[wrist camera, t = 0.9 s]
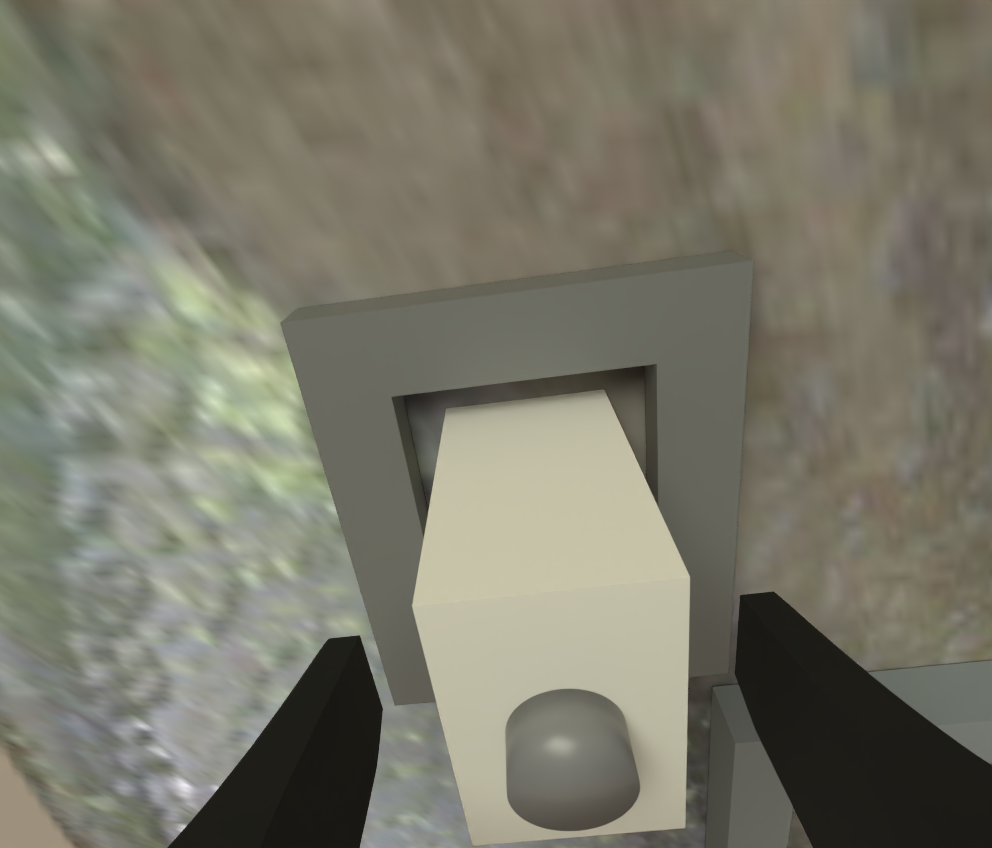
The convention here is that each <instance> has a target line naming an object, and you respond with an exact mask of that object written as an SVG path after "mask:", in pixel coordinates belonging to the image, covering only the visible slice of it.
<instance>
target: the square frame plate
mask: <svg viewBox="0 0 992 848" xmlns="http://www.w3.org/2000/svg"><path fill="white" fill-rule="evenodd" d="M753 265H754V261H753V260H751V259H749V258H747V257H744V256H742V255H740V254H738V253H736V252H733V251H728V252H720V253H713V254H705V255H698V256H690V257H683V258H675V259H668V260H660V261H653V262H645V263H637V264H630V265H622V266H615V267H607V268H600V269H592V270H585V271H577V272H570V273H562V274H554V275H547V276H539V277H532V278H524V279H517V280H509V281H502V282H494V283H487V284H479V285H471V286H464V287H456V288H449V289H441V290H434V291H426V292H419V293H411V294H404V295H396V296H389V297H381V298H373V299H366V300H358V301H351V302H343V303H336V304H328V305H321V306H313V307H306V308H298V309H296V310H295V311H294V312H293V313H292V314H290V315H289V316H288V317H287V318H286V319H284V320H283V321H282V322H281V327H282V330H283V333H284V337H285V340H286V343H287V347H288V350H289V353H290V357H291V360H292V363H293V367H294V370H295V373H296V377H297V380H298V383H299V387H300V390H301V394H302V397H303V400H304V404H305V407H306V410H307V414H308V417H309V420H310V424H311V427H312V430H313V434H314V437H315V440H316V444H317V447H318V450H319V454H320V457H321V460H322V464H323V467H324V470H325V474H326V477H327V480H328V484H329V487H330V490H331V494H332V497H333V500H334V504H335V507H336V510H337V514H338V517H339V520H340V524H341V527H342V530H343V534H344V537H345V540H346V544H347V547H348V550H349V554H350V557H351V560H352V564H353V567H354V570H355V574H356V577H357V580H358V584H359V587H360V591H361V594H362V597H363V601H364V604H365V607H366V611H367V614H368V617H369V621H370V624H371V627H372V631H373V634H374V637H375V641H376V644H377V647H378V651H379V654H380V657H381V661H382V664H383V667H384V671H385V674H386V677H387V681H388V684H389V687H390V691H391V694H392V697H393V701H394V704H395V705H406V704H416V703H427V702H436V699H435V695H434V691H433V687H432V683H431V679H430V675H429V671H428V667H427V663H426V660H425V656H424V652H423V648H422V644H421V640H420V636H419V632H418V628H417V624H416V620H415V616H414V612H413V608H412V604H413V598H414V592H415V586H416V580H417V575H418V569H419V563H420V557H421V551H422V546H423V540H424V534H425V528H426V522H427V517H428V509H427V504H426V499H425V495H424V490H423V486H422V481H421V476H420V472H419V467H418V463H417V458H416V453H415V449H414V444H413V440H412V435H411V430H410V426H409V421H408V417H407V412H406V407H405V403H404V398H403V395H410V394H418V393H426V392H434V391H442V390H450V389H459V388H467V387H475V386H483V385H491V384H499V383H507V382H515V381H523V380H531V379H540V378H548V377H556V376H564V375H572V374H580V373H588V372H596V371H604V370H612V369H621V368H629V367H637V366H644V367H645V416H646V465H647V484H648V486H649V488H650V491H651V493H652V495H653V497H654V499H655V501H656V504H657V506H658V508H659V510H660V512H661V515H662V517H663V519H664V521H665V523H666V525H667V528H668V530H669V532H670V534H671V536H672V539H673V541H674V543H675V545H676V547H677V549H678V552H679V554H680V556H681V558H682V560H683V563H684V565H685V567H686V569H687V571H688V573H689V576H690V610H689V662H688V678H689V677H699V676H710V675H720V674H728V672H729V656H730V640H731V624H732V607H733V591H734V575H735V558H736V542H737V526H738V509H739V493H740V477H741V461H742V444H743V428H744V412H745V395H746V379H747V363H748V347H749V330H750V314H751V298H752V281H753Z"/></svg>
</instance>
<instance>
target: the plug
mask: <svg viewBox="0 0 992 848" xmlns="http://www.w3.org/2000/svg"><path fill="white" fill-rule="evenodd" d="M412 608H413V612H414V616H415V620H416V624H417V628H418V632H419V636H420V640H421V644H422V648H423V652H424V656H425V660H426V663H427V667H428V671H429V675H430V679H431V683H432V687H433V691H434V695H435V699H436V703H437V707H438V711H439V715H440V719H441V723H442V727H443V730H444V734H445V738H446V742H447V746H448V750H449V754H450V758H451V762H452V766H453V770H454V774H455V778H456V782H457V786H458V790H459V794H460V798H461V801H462V805H463V809H464V813H465V817H466V821H467V825H468V829H469V833H470V837H471V841H472V845H473V846H477V845H489V844H500V843H512V842H524V841H536V840H548V839H560V838H572V837H584V836H596V835H608V834H620V833H632V832H644V831H656V830H668V829H680V828H685V818H686V766H687V714H688V662H689V610H690V576H689V573H688V571H687V569H686V567H685V565H684V563H683V560H682V558H681V556H680V554H679V552H678V549H677V547H676V545H675V543H674V541H673V539H672V536H671V534H670V532H669V530H668V528H667V525H666V523H665V521H664V519H663V517H662V515H661V512H660V510H659V508H658V506H657V504H656V501H655V499H654V497H653V495H652V493H651V491H650V488H649V486H648V484H647V482H646V480H645V477H644V475H643V473H642V471H641V469H640V467H639V464H638V462H637V460H636V458H635V456H634V453H633V451H632V449H631V447H630V445H629V443H628V440H627V438H626V436H625V434H624V432H623V429H622V427H621V425H620V423H619V421H618V419H617V416H616V414H615V412H614V410H613V408H612V405H611V403H610V401H609V399H608V397H607V395H606V392H605V390H595V391H587V392H579V393H571V394H562V395H554V396H546V397H538V398H530V399H521V400H513V401H505V402H497V403H489V404H480V405H472V406H464V407H456V408H447V409H446V412H445V418H444V424H443V429H442V435H441V441H440V447H439V453H438V459H437V464H436V470H435V476H434V482H433V488H432V493H431V499H430V505H429V511H428V517H427V522H426V528H425V534H424V540H423V546H422V551H421V557H420V563H419V569H418V575H417V580H416V586H415V592H414V598H413V604H412Z"/></svg>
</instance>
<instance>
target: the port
mask: <svg viewBox="0 0 992 848" xmlns="http://www.w3.org/2000/svg"><path fill="white" fill-rule="evenodd" d="M868 673H869V674H870V675H872V676H873V677H874V678H875V679H877V680H878V681H879V682H880V683H881V684H883V685H884V686H885V687H886V688H888V689H889V690H890V691H891V692H893V693H894V694H895V695H896V696H898V697H899V698H900V699H901V700H903V701H904V702H905V703H907V704H908V705H909V706H910V707H912V708H913V709H914V710H916V711H917V712H918V713H920V714H921V715H922V716H924V717H925V718H926V719H928V720H929V721H930V722H932V723H933V724H934V725H936V726H937V727H938V728H940V729H941V730H942V731H943V732H945V733H946V734H948V735H949V736H950V737H952V738H953V739H954V740H956V741H957V742H959V743H960V744H961V745H963V746H964V747H966V748H967V749H969V750H970V751H971V752H973V753H974V754H976V755H977V756H979V757H980V758H982V759H983V760H985V761H986V762H988V763H989V764H991V765H992V660H990V661H980V662H969V663H958V664H948V665H937V666H927V667H916V668H906V669H895V670H884V671H874V672H868ZM792 813H793V806H792V804H791V802H790V800H789V798H788V796H787V794H786V792H785V790H784V788H783V786H782V783H781V781H780V779H779V777H778V775H777V773H776V771H775V769H774V767H773V765H772V763H771V761H770V759H769V757H768V755H767V753H766V751H765V749H764V747H763V745H762V743H761V741H760V738H759V736H758V734H757V732H756V730H755V728H754V725H753V722H752V720H751V717H750V714H749V712H748V709H747V706H746V704H745V701H744V698H743V695H742V692H741V689H740V687H739V684H736V685H725V686H715V687H712V707H711V729H710V751H709V773H708V795H707V817H706V839H705V848H787V846H788V840H789V833H790V826H791V820H792Z"/></svg>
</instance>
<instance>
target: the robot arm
mask: <svg viewBox="0 0 992 848" xmlns="http://www.w3.org/2000/svg"><path fill="white" fill-rule="evenodd" d="M735 675H736V678H737V681H738V684H739V687H740V689H741V692H742V695H743V698H744V701H745V704H746V706H747V709H748V712H749V714H750V717H751V720H752V722H753V725H754V728H755V730H756V732H757V734H758V736H759V738H760V741H761V743H762V745H763V747H764V749H765V751H766V753H767V755H768V757H769V759H770V761H771V763H772V765H773V767H774V769H775V771H776V773H777V775H778V777H779V779H780V781H781V783H782V786H783V788H784V790H785V792H786V794H787V796H788V798H789V800H790V802H791V804H792V806H793V808H794V810H795V812H796V814H797V816H798V818H799V820H800V822H801V824H802V826H803V828H804V830H805V832H806V834H807V836H808V838H809V840H810V842H811V844H812V846H813V848H992V765H991V764H989V763H988V762H986V761H985V760H983V759H982V758H980V757H979V756H977V755H976V754H974V753H973V752H971V751H970V750H969V749H967V748H966V747H964V746H963V745H961V744H960V743H959V742H957V741H956V740H954V739H953V738H952V737H950V736H949V735H948V734H946V733H945V732H943V731H942V730H941V729H940V728H938V727H937V726H936V725H934V724H933V723H932V722H930V721H929V720H928V719H926V718H925V717H924V716H922V715H921V714H920V713H918V712H917V711H916V710H914V709H913V708H912V707H910V706H909V705H908V704H907V703H905V702H904V701H903V700H901V699H900V698H899V697H898V696H896V695H895V694H894V693H893V692H891V691H890V690H889V689H888V688H886V687H885V686H884V685H883V684H881V683H880V682H879V681H878V680H877V679H875V678H874V677H873V676H872V675H870V674H869V673H868V672H867V671H866V670H864V669H863V668H862V667H861V666H859V665H858V664H857V663H856V662H855V661H853V660H852V659H851V658H850V657H849V656H847V655H846V654H845V653H844V652H843V651H841V650H840V649H839V648H838V647H837V646H836V645H835V644H833V643H832V642H831V641H830V640H829V639H828V638H826V637H825V636H824V635H823V634H822V633H821V632H819V631H818V630H817V629H816V628H815V627H814V626H813V625H811V624H810V623H809V622H808V621H807V620H806V619H805V618H804V617H802V616H801V615H800V614H799V613H798V612H797V611H796V610H794V609H793V608H792V607H791V606H790V605H789V604H788V603H786V602H785V601H784V600H783V599H782V598H781V597H780V596H778V595H777V594H776V593H775V592H766V593H756V594H747V595H740V606H739V621H738V636H737V651H736V665H735ZM382 711H383V708H382V705H381V702H380V698H379V695H378V692H377V689H376V686H375V682H374V679H373V676H372V673H371V670H370V667H369V663H368V660H367V657H366V654H365V651H364V647H363V644H362V641H361V638H360V635H359V636H350V637H340V638H331V639H328V640H327V641H326V643H325V644H324V645H323V647H322V648H321V650H320V651H319V652H318V654H317V655H316V657H315V658H314V660H313V661H312V663H311V664H310V665H309V667H308V668H307V670H306V671H305V673H304V674H303V676H302V677H301V679H300V680H299V681H298V683H297V684H296V686H295V687H294V689H293V690H292V691H291V693H290V694H289V696H288V697H287V699H286V700H285V701H284V703H283V704H282V706H281V707H280V708H279V710H278V711H277V713H276V714H275V715H274V717H273V718H272V719H271V721H270V722H269V723H268V725H267V726H266V728H265V729H264V730H263V732H262V733H261V734H260V736H259V737H258V738H257V740H256V741H255V743H254V744H253V745H252V747H251V748H250V749H249V750H248V752H247V753H246V754H245V756H244V757H243V758H242V759H241V761H240V762H239V763H238V764H237V766H236V767H235V768H234V769H233V771H232V772H231V773H230V775H229V776H228V777H227V778H226V780H225V781H224V782H223V783H222V785H221V786H220V787H219V788H218V790H217V791H216V792H215V793H214V795H213V796H212V797H211V798H210V799H209V801H208V802H207V803H206V804H205V805H204V807H203V808H202V809H201V810H200V811H199V812H198V814H197V815H196V816H195V817H194V818H193V820H192V821H191V822H190V823H189V824H188V825H187V826H186V828H185V829H184V830H183V831H182V832H181V833H180V834H179V835H178V837H177V838H176V839H175V840H174V841H173V842H172V843H171V844H170V845H169V847H168V848H360V843H361V838H362V834H363V829H364V825H365V820H366V815H367V811H368V806H369V801H370V797H371V792H372V787H373V782H374V777H375V773H376V768H377V760H378V752H379V743H380V733H381V722H382Z"/></svg>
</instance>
